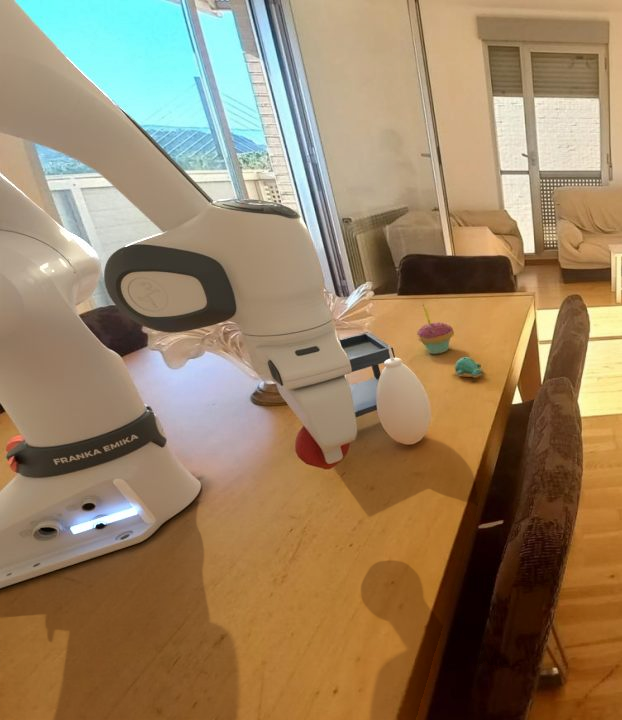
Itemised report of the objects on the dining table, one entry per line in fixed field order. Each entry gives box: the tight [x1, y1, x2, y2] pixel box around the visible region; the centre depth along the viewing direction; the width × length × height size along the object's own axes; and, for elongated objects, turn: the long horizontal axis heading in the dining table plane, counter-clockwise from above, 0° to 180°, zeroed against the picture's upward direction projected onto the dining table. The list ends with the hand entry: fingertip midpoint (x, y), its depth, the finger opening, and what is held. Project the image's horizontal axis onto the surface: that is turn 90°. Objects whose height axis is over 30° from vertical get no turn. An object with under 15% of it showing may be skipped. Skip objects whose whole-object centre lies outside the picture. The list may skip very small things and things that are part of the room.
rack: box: [339, 331, 396, 418], centre depth 84 cm, size 14×12×15 cm
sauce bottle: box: [376, 344, 432, 445], centre depth 78 cm, size 8×8×18 cm
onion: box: [294, 425, 351, 470], centre depth 60 cm, size 6×6×8 cm
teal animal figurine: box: [454, 356, 485, 379], centre depth 105 cm, size 6×7×4 cm
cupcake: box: [416, 304, 455, 355], centre depth 118 cm, size 9×8×12 cm
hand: (325, 448), depth 60 cm, fingers closed on onion, 6 cm apart
